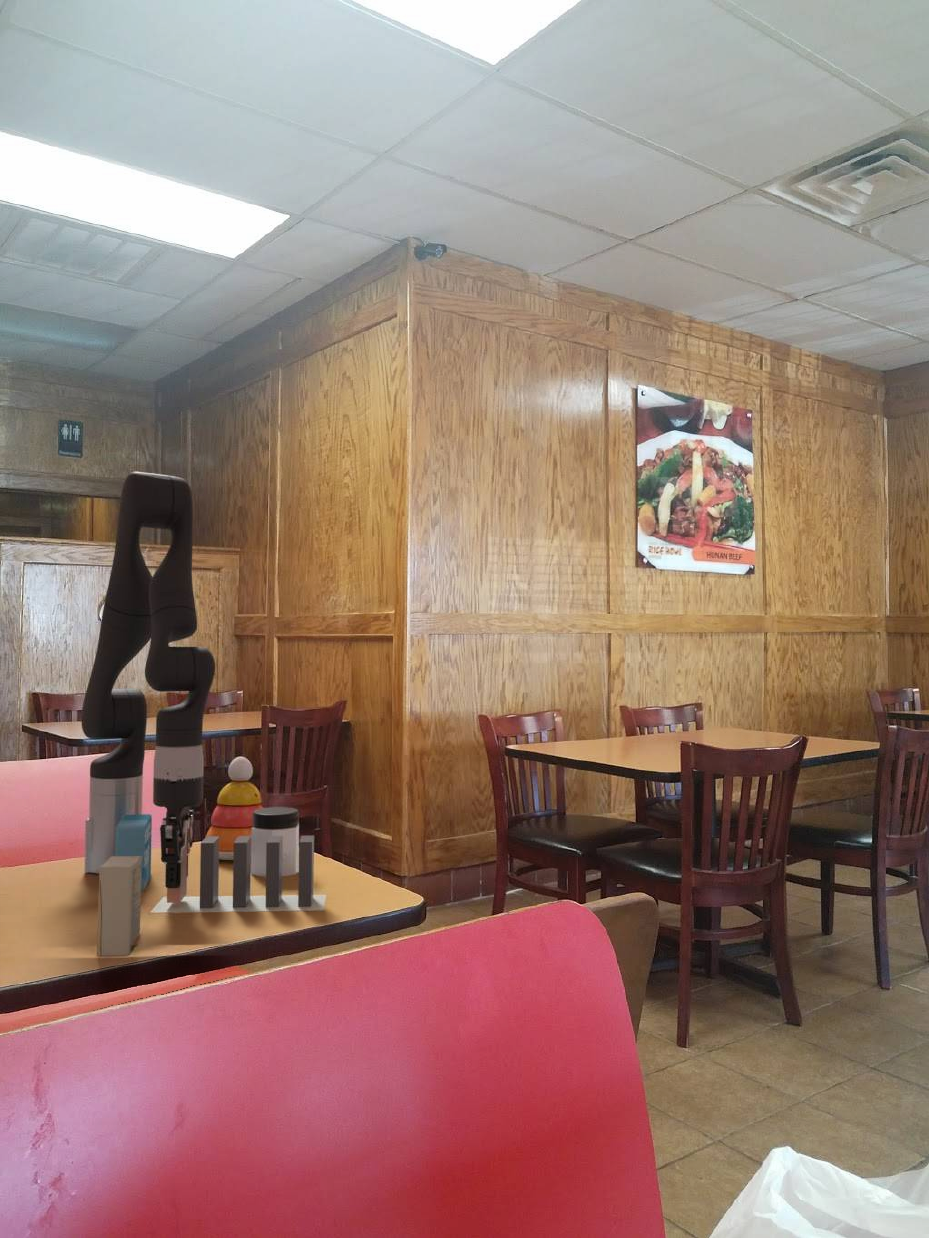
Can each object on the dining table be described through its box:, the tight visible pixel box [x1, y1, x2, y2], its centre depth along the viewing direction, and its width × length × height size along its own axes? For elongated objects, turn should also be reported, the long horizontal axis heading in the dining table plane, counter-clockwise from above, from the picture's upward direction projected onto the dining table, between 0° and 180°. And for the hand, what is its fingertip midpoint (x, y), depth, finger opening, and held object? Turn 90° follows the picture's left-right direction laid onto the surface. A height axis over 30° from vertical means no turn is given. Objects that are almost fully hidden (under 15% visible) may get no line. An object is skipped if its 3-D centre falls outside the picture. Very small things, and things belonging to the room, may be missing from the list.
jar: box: [250, 806, 300, 878], centre depth 172 cm, size 9×8×12 cm
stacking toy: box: [205, 756, 264, 861], centre depth 190 cm, size 14×14×20 cm
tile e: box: [297, 835, 315, 907], centre depth 152 cm, size 2×5×10 cm, turn 5°
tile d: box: [265, 836, 283, 907], centre depth 152 cm, size 2×5×10 cm, turn 5°
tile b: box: [199, 836, 220, 908], centre depth 151 cm, size 2×5×10 cm, turn 5°
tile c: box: [232, 836, 251, 908], centre depth 151 cm, size 2×5×10 cm, turn 5°
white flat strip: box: [149, 894, 327, 914], centre depth 151 cm, size 26×9×1 cm, turn 95°
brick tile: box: [166, 837, 188, 903], centre depth 150 cm, size 2×5×10 cm, turn 5°
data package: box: [115, 813, 153, 892], centre depth 163 cm, size 12×4×12 cm, turn 13°
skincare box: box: [96, 856, 142, 957], centre depth 132 cm, size 6×4×12 cm
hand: (176, 882), depth 150 cm, fingers closed on brick tile, 5 cm apart
